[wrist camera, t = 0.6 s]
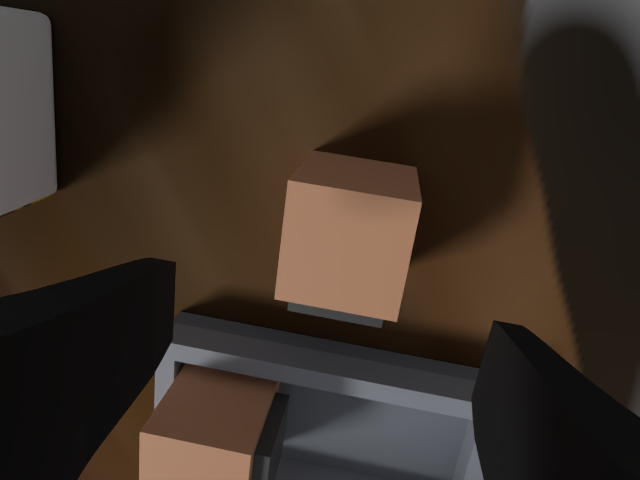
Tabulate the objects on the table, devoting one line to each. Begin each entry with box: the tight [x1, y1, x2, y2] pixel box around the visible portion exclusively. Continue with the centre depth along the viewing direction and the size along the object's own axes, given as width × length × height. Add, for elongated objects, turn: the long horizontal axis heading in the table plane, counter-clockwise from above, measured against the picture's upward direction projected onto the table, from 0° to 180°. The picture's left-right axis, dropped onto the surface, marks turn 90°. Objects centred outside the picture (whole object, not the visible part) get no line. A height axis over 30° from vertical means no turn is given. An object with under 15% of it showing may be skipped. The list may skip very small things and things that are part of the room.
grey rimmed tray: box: [139, 311, 484, 480], centre depth 21 cm, size 14×7×6 cm, turn 82°
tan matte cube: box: [274, 150, 422, 328], centre depth 19 cm, size 5×4×5 cm
